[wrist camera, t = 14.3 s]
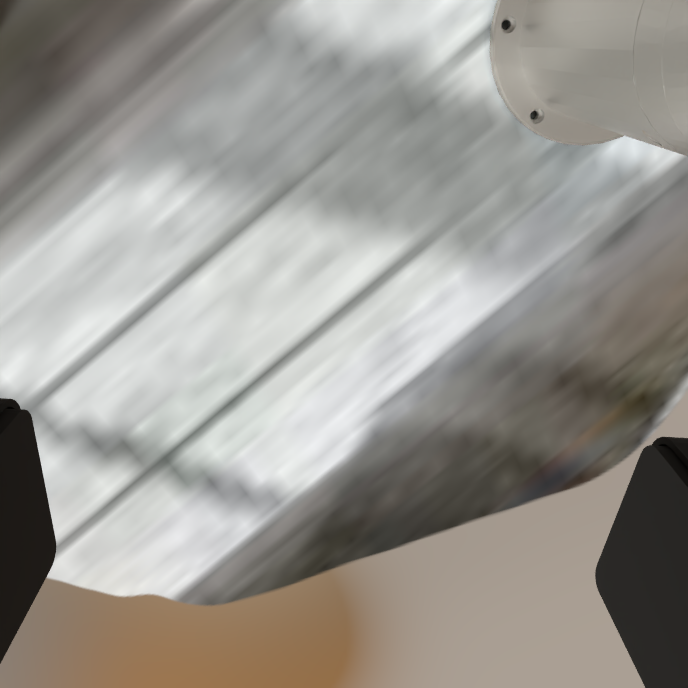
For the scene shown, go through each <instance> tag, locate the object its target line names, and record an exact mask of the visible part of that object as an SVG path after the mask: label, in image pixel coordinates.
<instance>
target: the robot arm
mask: <svg viewBox="0 0 688 688" xmlns="http://www.w3.org/2000/svg"><path fill="white" fill-rule="evenodd" d="M504 20H507V21H508V23H509V26H508V28H507V29H506V30H504V29H503V28H502V22H503V21H504ZM490 59H491V67H492V74H493V77H494V80H495V83H496V86H497V89H498V92H499V94H500V96H501V97H502V99H503V101H504V103H505V104H506V106H507V108H508V109H509V111H510V112H511V113H512V114H513V115H514V116H515V117H516V118H517V119H518V120H519V122H520V123H522V124H523V125H524V126H526V127H527V128H529V129H530V130H531V131H533V132H534V133H536V134H538V135H540V136H542V137H544V138H546V139H549V140H553V141H556V142H559V143H563V144H571V145H591V144H599V143H604V142H607V141H610V140H614V139H617V138H620V137H623V136H627V137H631V138H634V139H637V140H640V141H643V142H646V143H649V144H652V145H655V146H658V147H661V148H664V149H667V150H670V151H673V152H677V153H680V154H683V155H686V156H688V0H497V3H496V6H495V10H494V15H493V19H492V24H491V29H490ZM532 111H536V117H535V118H534V119H531V118H530V115H531V112H532ZM55 553H56V539H55V534H54V529H53V524H52V519H51V514H50V509H49V504H48V498H47V493H46V488H45V483H44V478H43V473H42V468H41V462H40V457H39V452H38V447H37V442H36V437H35V432H34V427H33V421H32V417H31V414H30V413H29V412H28V411H27V410H21V409H20V406H19V404H18V403H17V402H16V401H15V400H13V399H1V398H0V663H1V661H2V659H3V657H4V655H5V654H6V652H7V650H8V648H9V646H10V644H11V642H12V640H13V639H14V637H15V635H16V633H17V631H18V629H19V627H20V626H21V624H22V622H23V620H24V618H25V616H26V614H27V612H28V611H29V609H30V607H31V605H32V603H33V601H34V599H35V597H36V595H37V594H38V592H39V590H40V588H41V586H42V584H43V582H44V580H45V579H46V577H47V575H48V573H49V571H50V569H51V567H52V565H53V562H54V558H55ZM595 576H596V584H597V588H598V591H599V593H600V595H601V597H602V599H603V601H604V603H605V605H606V607H607V610H608V612H609V614H610V615H611V618H612V620H613V622H614V624H615V626H616V628H617V630H618V632H619V634H620V636H621V638H622V640H623V642H624V645H625V647H626V648H627V651H628V653H629V655H630V657H631V659H632V661H633V663H634V665H635V667H636V669H637V671H638V673H639V675H640V677H641V679H642V681H643V684H644V686H645V688H688V438H674V437H660V438H658V439H656V440H655V441H654V442H653V444H652V445H650V446H647V447H645V448H644V449H643V451H642V453H641V455H640V458H639V460H638V462H637V465H636V467H635V470H634V473H633V475H632V478H631V481H630V483H629V485H628V488H627V491H626V493H625V496H624V498H623V501H622V503H621V506H620V508H619V511H618V513H617V516H616V518H615V521H614V523H613V526H612V528H611V531H610V533H609V536H608V539H607V541H606V544H605V546H604V549H603V552H602V554H601V556H600V559H599V561H598V564H597V567H596V575H595Z"/></svg>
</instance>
